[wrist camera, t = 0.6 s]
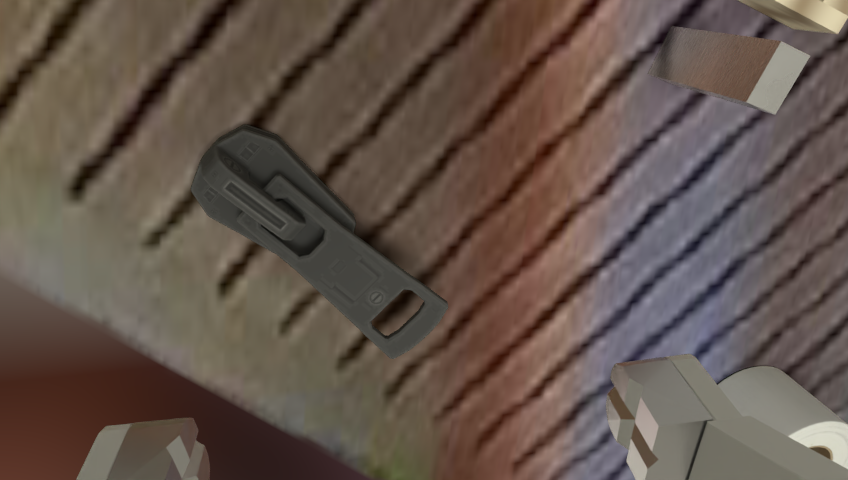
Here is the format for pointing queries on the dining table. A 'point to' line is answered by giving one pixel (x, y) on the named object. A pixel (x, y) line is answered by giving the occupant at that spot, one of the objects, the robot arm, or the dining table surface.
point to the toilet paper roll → (788, 410)
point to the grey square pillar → (729, 66)
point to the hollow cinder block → (805, 13)
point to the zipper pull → (308, 232)
